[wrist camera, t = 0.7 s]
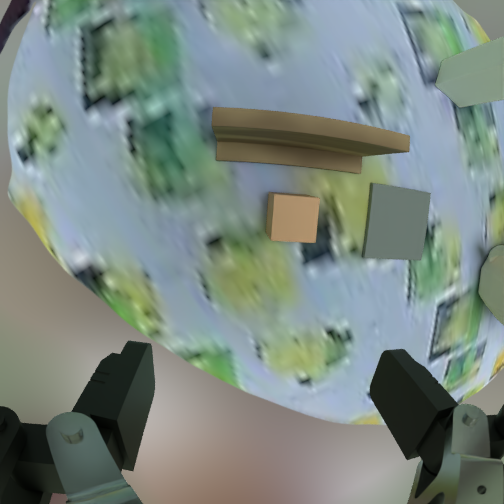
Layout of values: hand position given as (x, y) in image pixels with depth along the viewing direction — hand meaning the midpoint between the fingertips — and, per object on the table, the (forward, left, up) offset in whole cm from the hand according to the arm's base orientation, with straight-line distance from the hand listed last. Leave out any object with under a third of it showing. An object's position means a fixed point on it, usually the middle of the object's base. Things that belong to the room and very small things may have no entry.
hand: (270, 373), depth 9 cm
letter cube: (-2, +6, -28) cm, 29 cm away
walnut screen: (-11, +6, -28) cm, 31 cm away
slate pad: (-2, +22, -28) cm, 36 cm away
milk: (-26, +32, -29) cm, 50 cm away
